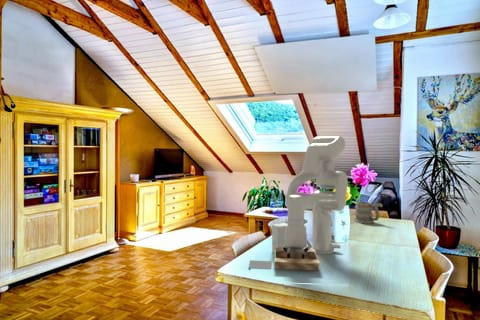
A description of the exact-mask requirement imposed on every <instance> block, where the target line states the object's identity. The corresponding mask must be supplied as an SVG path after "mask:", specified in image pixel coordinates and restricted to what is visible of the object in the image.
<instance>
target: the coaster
mask: <svg viewBox="0 0 480 320" xmlns="http://www.w3.org/2000/svg"><path fill="white" fill-rule="evenodd" d="M251 269H255V270H257V269H259V270H272V260H251V259H249V265H248V270H251Z"/></svg>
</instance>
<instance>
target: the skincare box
mask: <svg viewBox="0 0 480 320" xmlns="http://www.w3.org/2000/svg"><path fill="white" fill-rule="evenodd" d="M286 224H288V222H287V223H286V222H282V223H274V224H271V240H272V243H271V244H272V245H271V247H272V249H271V250H272V252H273V253H274V248H281V247H280V246H279V245H280V243H281V242H282V241H283V240H284V236H285V227H286ZM284 246H285V244H284ZM285 247H286V246H285ZM286 248H287V247H286Z"/></svg>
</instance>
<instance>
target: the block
mask: <svg viewBox="0 0 480 320" xmlns="http://www.w3.org/2000/svg"><path fill="white" fill-rule="evenodd" d="M290 259H302V249H301V248H290Z"/></svg>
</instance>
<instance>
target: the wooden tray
mask: <svg viewBox="0 0 480 320" xmlns="http://www.w3.org/2000/svg"><path fill="white" fill-rule="evenodd" d="M273 254H274V255H273V256H274V257H273V258H274V260H273V263H274V264H273V265H274V267H273V268H274V269H275V270H277V269H279V270H299V271H319V270H320V269H319V265H321V261H320V260H319V257H318V255H317V254H318V253H316V252H315V250H314V249H309V250H308V251H307V252H306V253H305V254H304V259H289V258H287V253H286V252H285V251H284V250H283V249H282V248H274V252H273Z"/></svg>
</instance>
